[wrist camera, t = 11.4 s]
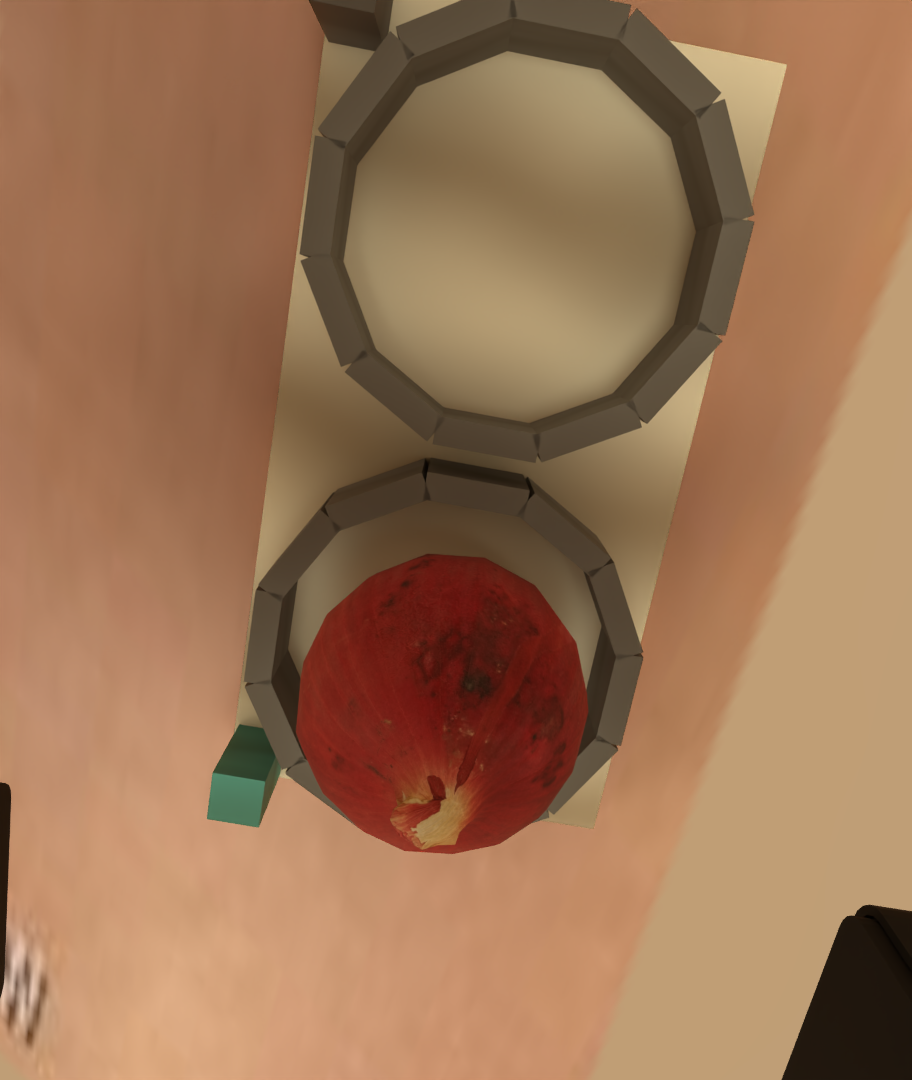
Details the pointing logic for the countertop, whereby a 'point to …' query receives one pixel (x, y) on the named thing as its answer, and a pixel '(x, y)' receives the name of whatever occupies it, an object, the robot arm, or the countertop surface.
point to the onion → (442, 704)
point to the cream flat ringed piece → (496, 333)
